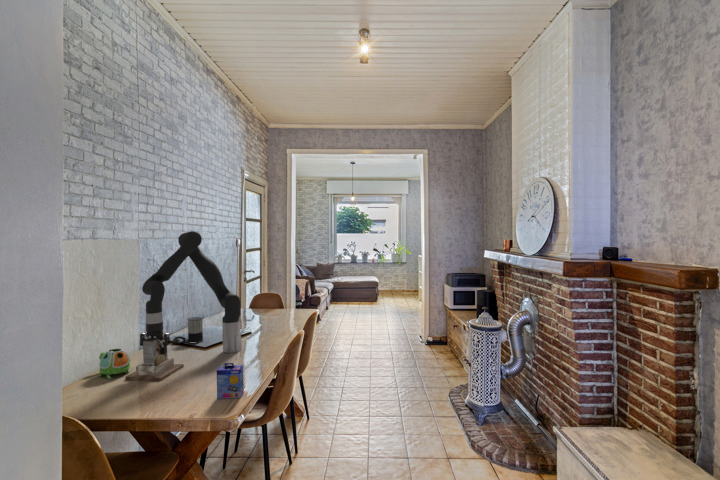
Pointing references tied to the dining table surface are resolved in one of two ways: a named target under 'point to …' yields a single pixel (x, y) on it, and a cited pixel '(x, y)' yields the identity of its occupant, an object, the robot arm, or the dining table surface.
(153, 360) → the coffee box
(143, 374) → the frame
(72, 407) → the dining table surface
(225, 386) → the ink cartridge box
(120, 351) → the turtle holder
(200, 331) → the milk frother
